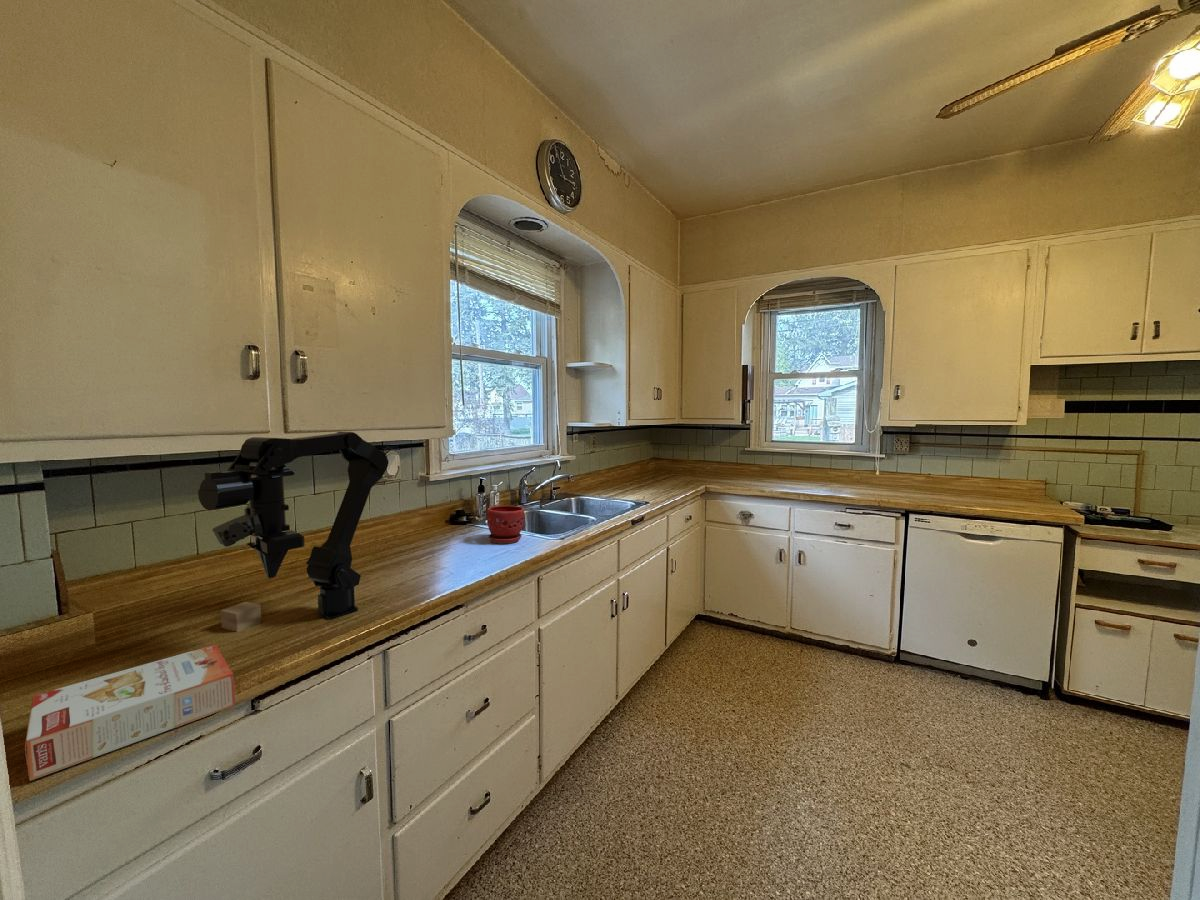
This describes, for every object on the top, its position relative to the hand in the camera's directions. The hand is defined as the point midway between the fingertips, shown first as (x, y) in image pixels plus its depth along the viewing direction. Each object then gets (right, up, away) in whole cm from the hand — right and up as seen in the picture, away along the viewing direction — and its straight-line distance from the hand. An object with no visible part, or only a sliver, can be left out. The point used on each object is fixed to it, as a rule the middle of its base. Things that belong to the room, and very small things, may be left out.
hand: (271, 577), depth 95 cm
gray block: (-12, -13, +8) cm, 19 cm away
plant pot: (+32, -7, +75) cm, 82 cm away
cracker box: (+4, -11, -16) cm, 20 cm away
